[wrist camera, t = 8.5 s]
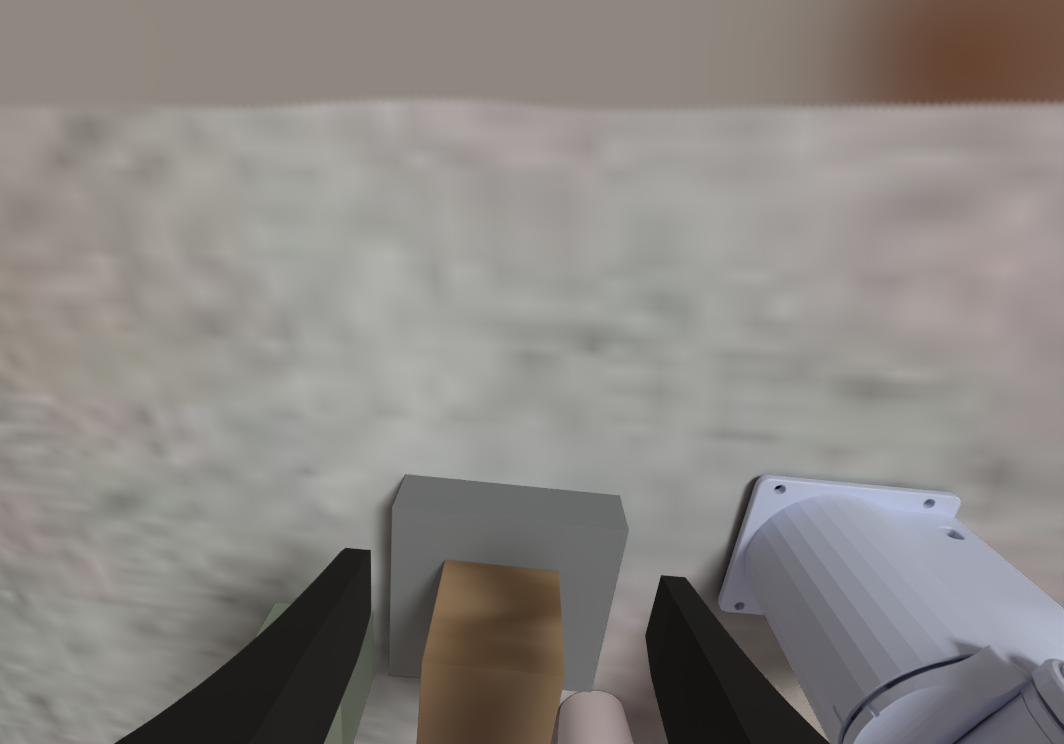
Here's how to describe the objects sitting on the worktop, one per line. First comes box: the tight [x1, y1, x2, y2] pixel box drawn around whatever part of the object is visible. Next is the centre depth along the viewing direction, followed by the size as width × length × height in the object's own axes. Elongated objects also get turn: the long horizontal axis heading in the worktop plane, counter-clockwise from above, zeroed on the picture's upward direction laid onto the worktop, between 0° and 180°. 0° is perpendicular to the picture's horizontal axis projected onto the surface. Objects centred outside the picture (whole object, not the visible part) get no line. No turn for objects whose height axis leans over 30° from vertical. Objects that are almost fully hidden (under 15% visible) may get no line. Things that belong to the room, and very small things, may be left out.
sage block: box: [255, 602, 374, 744], centre depth 25 cm, size 5×5×5 cm
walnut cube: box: [417, 560, 565, 744], centre depth 21 cm, size 5×5×5 cm
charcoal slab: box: [389, 474, 629, 692], centre depth 25 cm, size 10×10×3 cm
